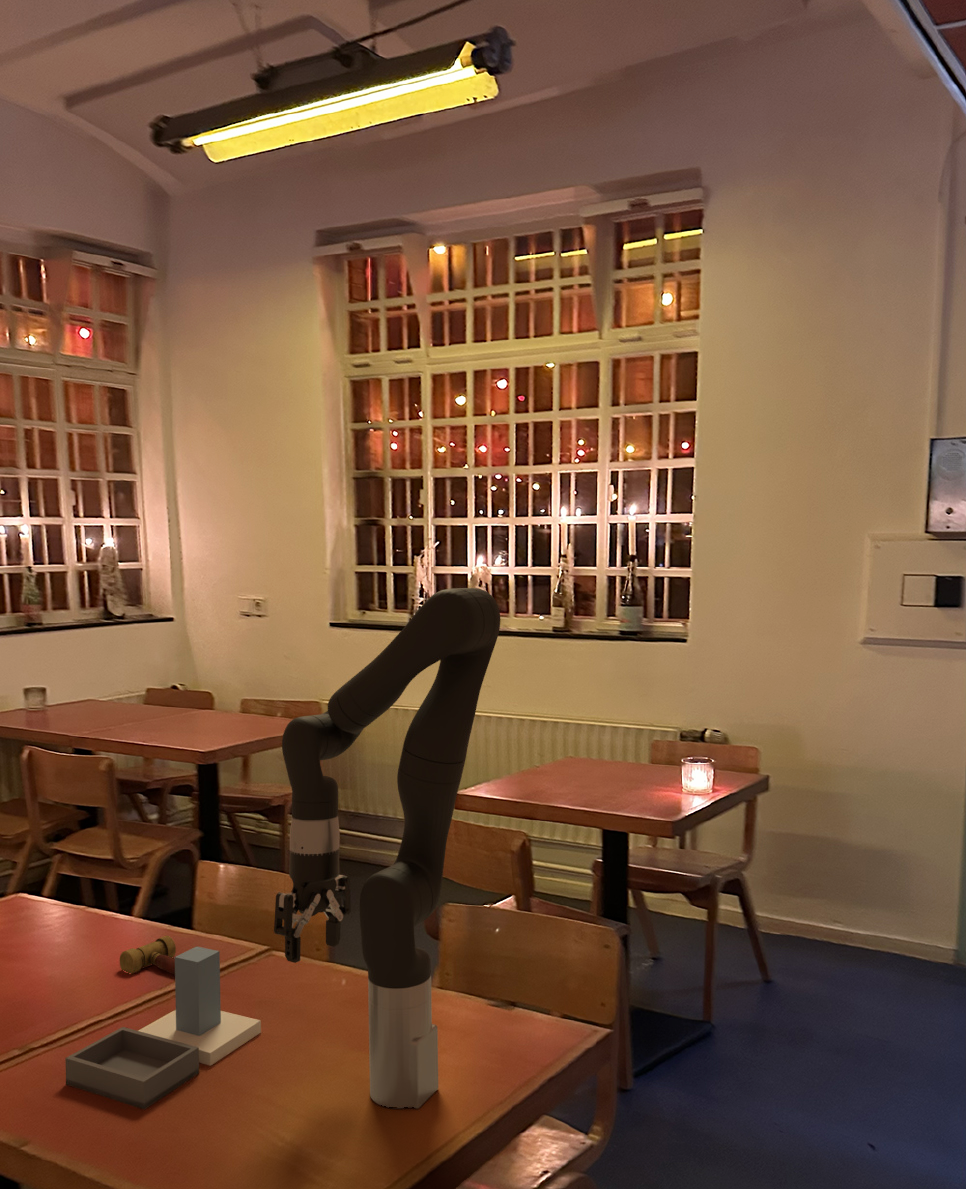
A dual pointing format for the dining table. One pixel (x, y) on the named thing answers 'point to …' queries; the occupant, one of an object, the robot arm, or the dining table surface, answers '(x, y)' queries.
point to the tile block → (197, 990)
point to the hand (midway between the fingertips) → (313, 953)
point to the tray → (132, 1067)
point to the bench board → (209, 1035)
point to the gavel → (150, 956)
